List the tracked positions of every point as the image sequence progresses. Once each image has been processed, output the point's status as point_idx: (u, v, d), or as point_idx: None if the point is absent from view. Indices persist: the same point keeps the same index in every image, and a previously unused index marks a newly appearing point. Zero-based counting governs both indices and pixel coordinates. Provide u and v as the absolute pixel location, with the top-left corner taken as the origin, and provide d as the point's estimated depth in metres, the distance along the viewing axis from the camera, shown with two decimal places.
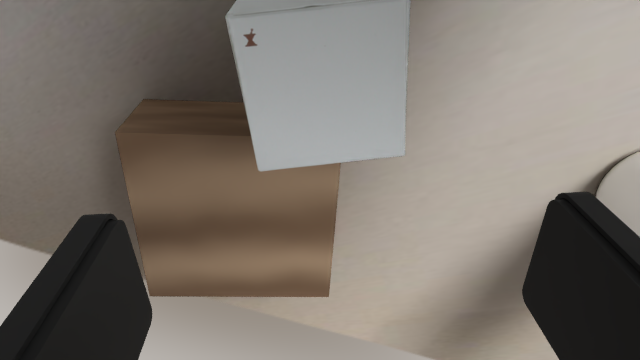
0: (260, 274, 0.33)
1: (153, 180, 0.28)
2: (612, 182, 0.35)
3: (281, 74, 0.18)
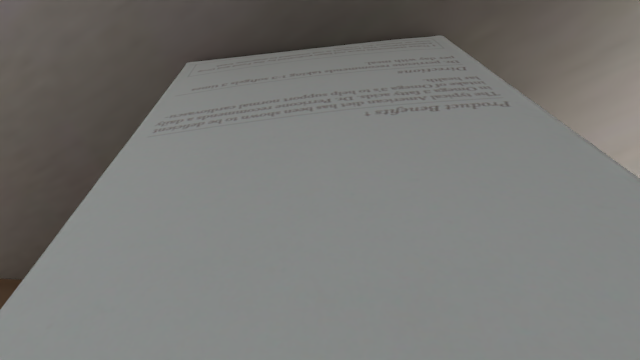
0: None
1: None
2: None
3: None
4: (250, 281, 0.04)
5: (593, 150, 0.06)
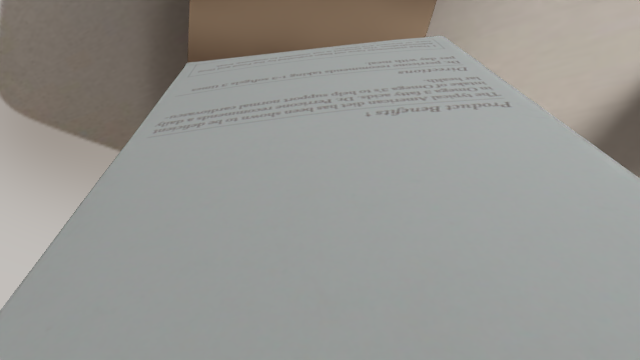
0: None
1: None
2: None
3: None
4: (250, 283, 0.04)
5: (594, 152, 0.06)
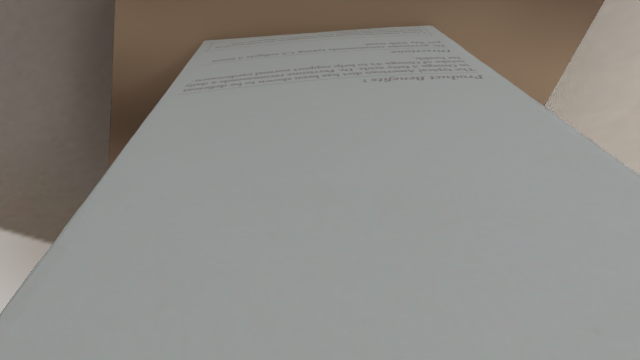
0: None
1: None
2: None
3: None
4: (275, 182, 0.05)
5: (542, 109, 0.07)
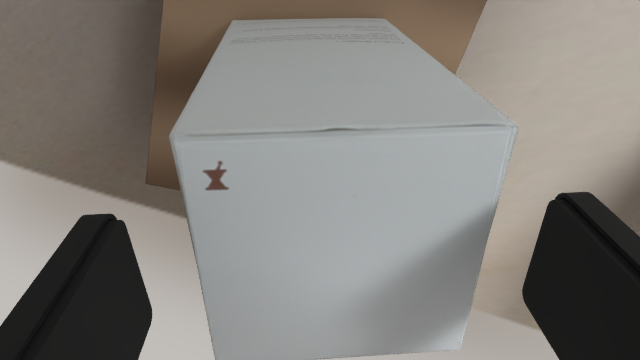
0: None
1: None
2: None
3: (269, 236, 0.10)
4: (292, 72, 0.12)
5: (428, 55, 0.14)
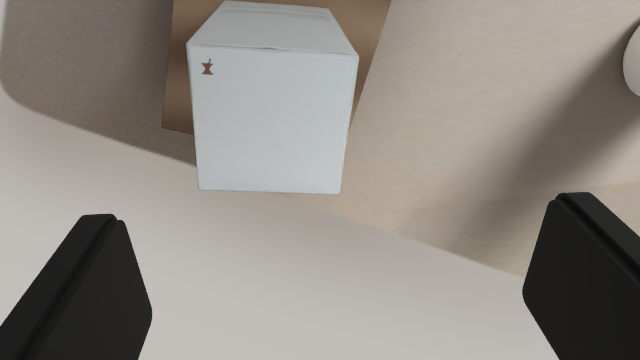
0: None
1: None
2: None
3: (232, 104, 0.19)
4: (254, 26, 0.21)
5: (338, 27, 0.23)
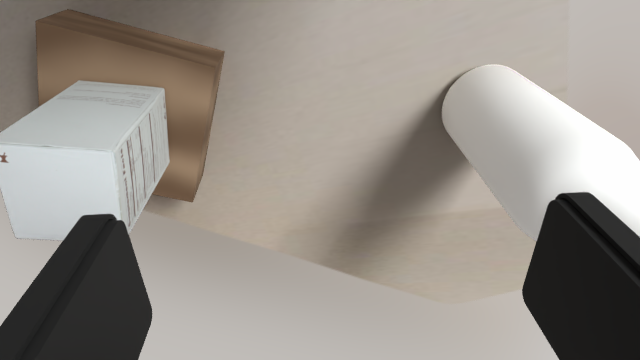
0: None
1: (61, 67, 0.35)
2: (448, 95, 0.43)
3: (26, 182, 0.26)
4: (60, 120, 0.28)
5: (136, 116, 0.30)
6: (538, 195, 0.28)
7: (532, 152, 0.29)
